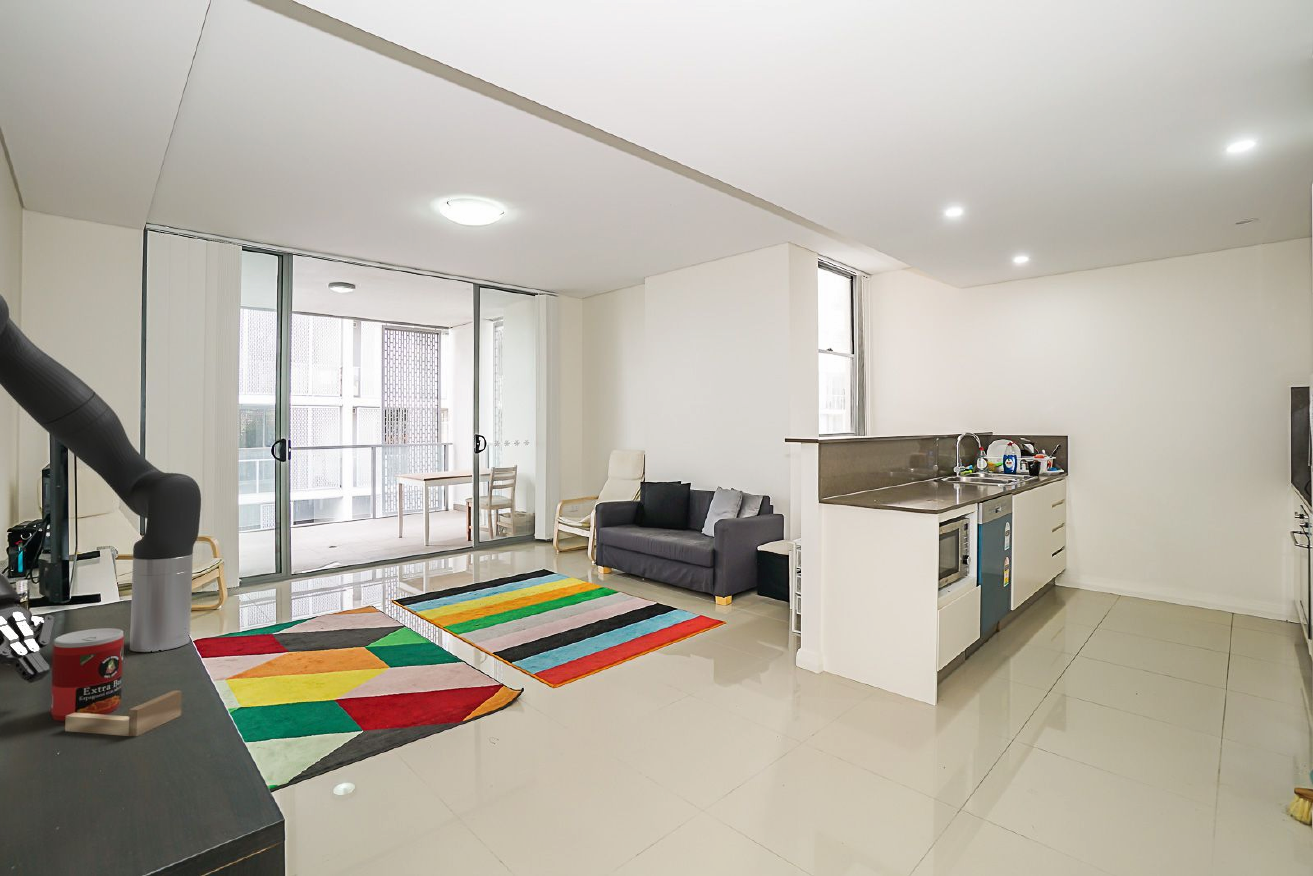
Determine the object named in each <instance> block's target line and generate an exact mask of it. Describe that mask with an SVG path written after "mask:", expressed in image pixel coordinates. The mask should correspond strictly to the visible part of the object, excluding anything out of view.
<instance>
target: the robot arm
mask: <svg viewBox="0 0 1313 876" xmlns="http://www.w3.org/2000/svg"><path fill="white" fill-rule="evenodd" d="M0 385H1V387H2V388H3V389H4V390H5V391H6V392H7V393H8V394H9V396H11V398H12V399H14V401H15V402H16V403H17V404H18V405H19V406H20V407H21V408H22V410H24V411H25V412H26V413H27V414H28V415H29V416H30V417H31V418H32V419H33V420H35V422H36V423H37V424H38V425H40V426H41V427H42V428H43V429H44V430H45V431H46V432H48V434H49V435H51V436H52V437H53V438H54V439H56V440H57V441H58V442H59V443H61V444H62V445H63V446H65V448H66V449H67V450H68V451H70V452H71V453H72V454H73V455H74V456H76V458H78V459H79V460H80V461H81V462H83V463H84V464H85V465H86V466H88V467H89V468H90V469H91V470H93V471H94V472H95V473H97V474H98V476H99V477H101V478H102V479H103V481H104V482H105V483H107V485H108V486H109V487H110V488H111V489H112V491H114V492H115V494H116V495H117V496H118V497H119V498H120V499H121V501H122V502H123V503H124V504H125V506H127V507H128V509H129V510H131V512H133V513H134V514H136V515H137V516H139V517H141V518H143V519H146V525H145V533H144V535H143V537H142V538H141V539H139V540H138V541H136V542H135V543H134V545H133V549H132V571H131V572H132V574H131V575H132V582H131V605H130V606H131V607H130V608H131V611H130V630H129V631H130V633H129V650H130V651H132V652H138V653H139V652H140V653H150V652H151V651H152V652H160V651H159V650H161V651H167V650H172V649H175V648H179V647H182V646H185V645H187V644H189V643H190V642H191V640H190V639H191V620H192V619H191V618H192V592H193V591H192V588H193V587H192V586H193V564H194V563H193V561H194V560H193V558H194V557H193V556H194V554H193V553H194V546H195V544H196V542H197V539H198V536H199V532H200V522H201V521H200V520H201V510H202V494H201V489H200V486H199V485H198V483H197V481H196V480H195V479H194V478H192V477H191V476H189V475H187V474H183V473H179V472H178V473H176V472H175V473H174V472H163V471H161V470H160V469H158V468H157V467H156V466H154V465H153V464H152V463H151V462H149V460H148V459H146V458H145V457H144V456H143V455H141V453H139V452H138V451H137V450H136V447H134V446H133V445H132V443H131V441H130V439H129V438H128V436H127V433H126V430H125V428H124V426H123V423H122V421H121V420H120V418H119V417H118V414H117V413H116V412H115V411H114V410H113V409H112V407H111V406H109V404H108V403H107V402H106V401H105V400H104V399H103V398H102V397H101V396H99V394H98V393H96V392H95V390H94V389H92V388H91V387H90V386H89V385H88V384H87V383H86V382H84V381H83V380H82V379H81V378H80V377H78V376H77V375H76V374H75V373H73V372H72V371H71V370H69V369H68V368H67V367H66V366H64V365H62V364H61V363H59V362H58V361H57V360H56V359H54V358H53V357H51V356H50V355H48V354H47V353H45V352H44V351H43V350H41V348H39V347H38V346H37V345H36V344H35V343H33V342H32V341H31V340H30V339H29V337H27V336H26V335H25V333H23V331H22V330H21V329H20V328H19V327H18V326H17V325H16V323H15V322H14V321H13V320H12V319H11V318H10V308H9V306H8V303H7V301H6V300H5V298H4V297H3V295H1V294H0ZM54 622H55V616H53V615H51V614H47V615H45V616H44V617H40V616H35V615H33V613H32V612H31V611H30V610H29V609H27V608H26V607H24V606H23V605H22V603H21V596H20V594H19V592H17V590H16V589H15V588H14V587H13V585H12V584H11V583H10V582H9V580H8V579H7V578H6V576H4V574H3V573H2V571H0V665H5V664H6V665H8V666H12V667H13V669H14V670H15V671H16V672H17V674H18V675H19V676H20V678H21V679H22V680H24V681H25V682H26V681H27V682H28V683H29V684H32V683H35V682H39V681H41V680H42V681H43V680H44V678H45V677H46V676H47V675H48V674H49V673H50V669H51V668H50V665H49V664H48V662H47V661H46V660H45V659H44V657H43V656H42V655H41V651H43V649H44V648H45V647H46V646H47V645H49V643H50V640H51V635H52V631H53V627H54V626H53V625H54ZM185 628H186V629H185ZM187 632H188V633H187ZM188 634H189V636H190V638H189V636H188Z"/></svg>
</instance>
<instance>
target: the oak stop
mask: <svg viewBox="0 0 1313 876" xmlns="http://www.w3.org/2000/svg"><path fill="white" fill-rule="evenodd" d="M182 695H183V690H178V689H177V690H176V689H175V690H172V691H169V692H166V693H165V694H163V695H159V696H158V697H155V698H153V699H151V700H148V701H146V702H144V703H141V704H138V705H136V706H134V707H132V708H129V711H128V712H129V713H128V714H129V715H128V716H127V715H116V714H115V715H113V714H111V715H110V714H105V715H101V714H88V713H72V714H70V715H67V716H66V721H64V722H65V725H64V729H65V730H64V731H65V732H71V733H72V732H73V733H74V732H75V733H86V734H99V735H101V734H102V735H112V736H124V737H125V736H126V737H135V738H136V737H139V736H141V735H143V734H145V733H147V732H149V731H151V730H154V729H155V728H158V727H160V726H162V725H163V724H166V723H168V722H170V721H172V720H175V719H176V718H178V717H181V716H182V700H183V698H182V697H183V696H182Z"/></svg>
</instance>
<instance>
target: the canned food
mask: <svg viewBox="0 0 1313 876" xmlns="http://www.w3.org/2000/svg"><path fill="white" fill-rule="evenodd" d="M124 638H125V637H124V631H123V630H122V629H119V628H114V627H113V628H111V627H109V628H107V627H106V628H104V627H103V628H92V629H85V630H77V631H72V632H68V633H65V634H62V635H59V636H58V637H56V638H54V640H53V646H52V647H53V648H52V672H51V673H52V674H51V701H50V713H51V716H52V717H53V720H55V721H58V722H59V721H60V722H66V716H67V715H70V714H72V713H88V714H101V715H109V714H110V713H111V712H114V711H116V710H117V709H118V708H119V707H120V704H121V702H122V690H123V687H122V686H123V668H124V667H123V665H124V664H123V663H124V645H125V644H124V643H125V642H124V641H125V640H124Z"/></svg>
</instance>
